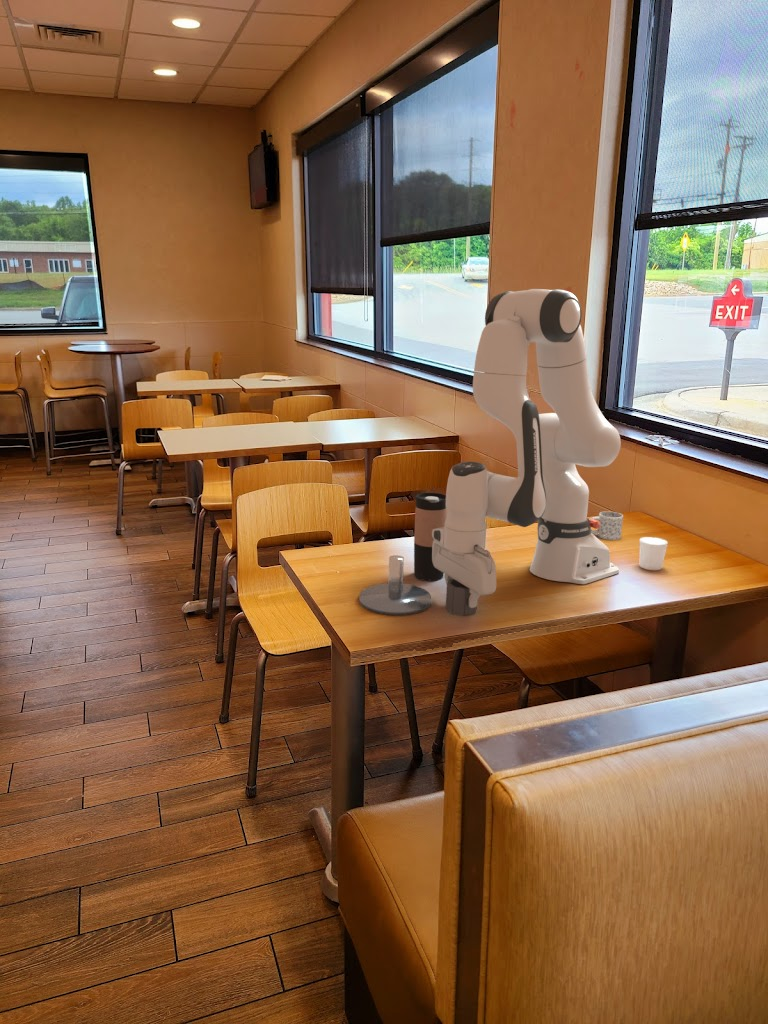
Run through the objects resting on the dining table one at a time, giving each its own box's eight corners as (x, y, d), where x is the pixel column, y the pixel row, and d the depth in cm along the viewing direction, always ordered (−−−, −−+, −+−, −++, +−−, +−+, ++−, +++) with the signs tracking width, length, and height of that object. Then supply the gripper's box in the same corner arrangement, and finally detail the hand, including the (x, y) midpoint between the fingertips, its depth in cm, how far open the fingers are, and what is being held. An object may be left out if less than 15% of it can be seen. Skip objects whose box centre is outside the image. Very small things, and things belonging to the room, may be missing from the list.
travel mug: (425, 568, 189) (428, 490, 184) (450, 575, 185) (454, 496, 179) (406, 576, 184) (409, 496, 178) (432, 583, 179) (435, 502, 174)
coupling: (465, 601, 169) (467, 576, 167) (481, 612, 163) (483, 586, 162) (441, 606, 166) (442, 580, 164) (456, 617, 160) (458, 590, 159)
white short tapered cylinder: (655, 572, 190) (658, 546, 188) (631, 565, 195) (634, 539, 193) (669, 567, 194) (673, 541, 192) (646, 560, 199) (649, 534, 197)
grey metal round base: (409, 584, 179) (410, 542, 176) (444, 608, 165) (446, 564, 162) (347, 594, 172) (348, 551, 169) (379, 620, 158) (380, 574, 155)
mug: (615, 533, 222) (618, 511, 221) (624, 540, 216) (626, 517, 214) (582, 533, 222) (584, 511, 220) (590, 540, 215) (592, 517, 214)
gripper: (505, 551, 153) (501, 615, 156) (452, 525, 170) (449, 582, 174) (479, 555, 150) (476, 620, 154) (428, 528, 167) (425, 586, 171)
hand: (461, 600), depth 164 cm, fingers closed on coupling, 6 cm apart
